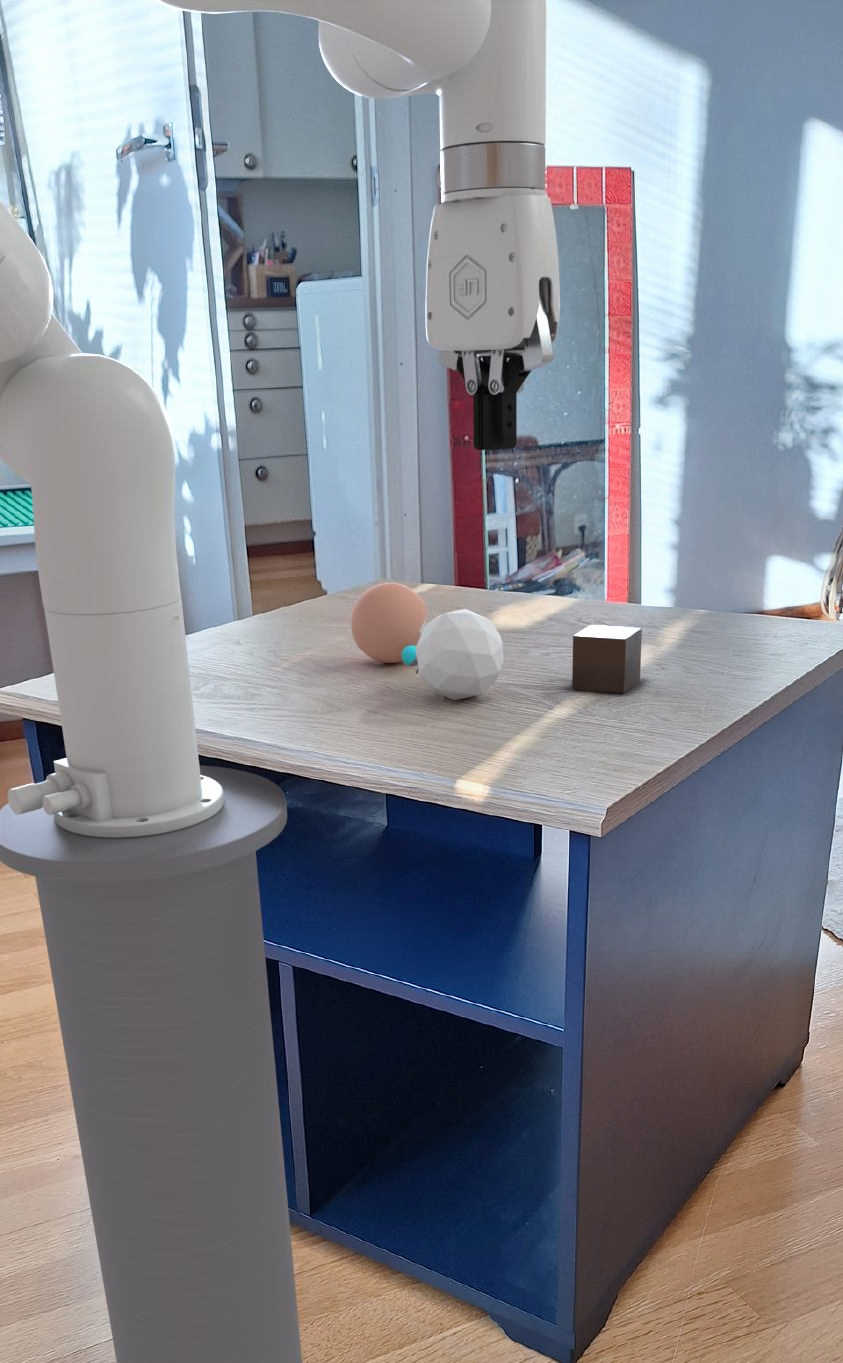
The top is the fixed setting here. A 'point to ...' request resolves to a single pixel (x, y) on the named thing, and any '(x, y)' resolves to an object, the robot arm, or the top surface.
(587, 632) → the walnut block
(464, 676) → the white faceted ball
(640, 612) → the top surface
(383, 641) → the toy ball
